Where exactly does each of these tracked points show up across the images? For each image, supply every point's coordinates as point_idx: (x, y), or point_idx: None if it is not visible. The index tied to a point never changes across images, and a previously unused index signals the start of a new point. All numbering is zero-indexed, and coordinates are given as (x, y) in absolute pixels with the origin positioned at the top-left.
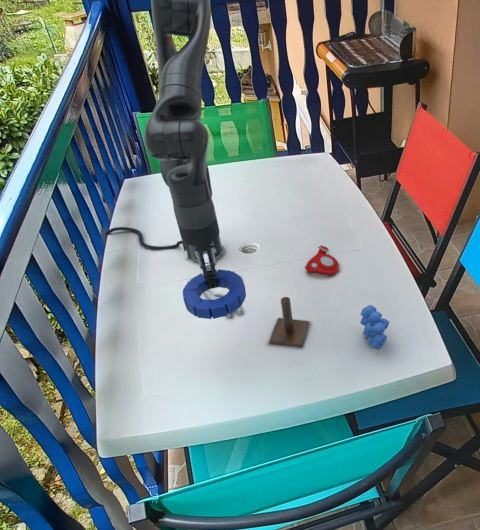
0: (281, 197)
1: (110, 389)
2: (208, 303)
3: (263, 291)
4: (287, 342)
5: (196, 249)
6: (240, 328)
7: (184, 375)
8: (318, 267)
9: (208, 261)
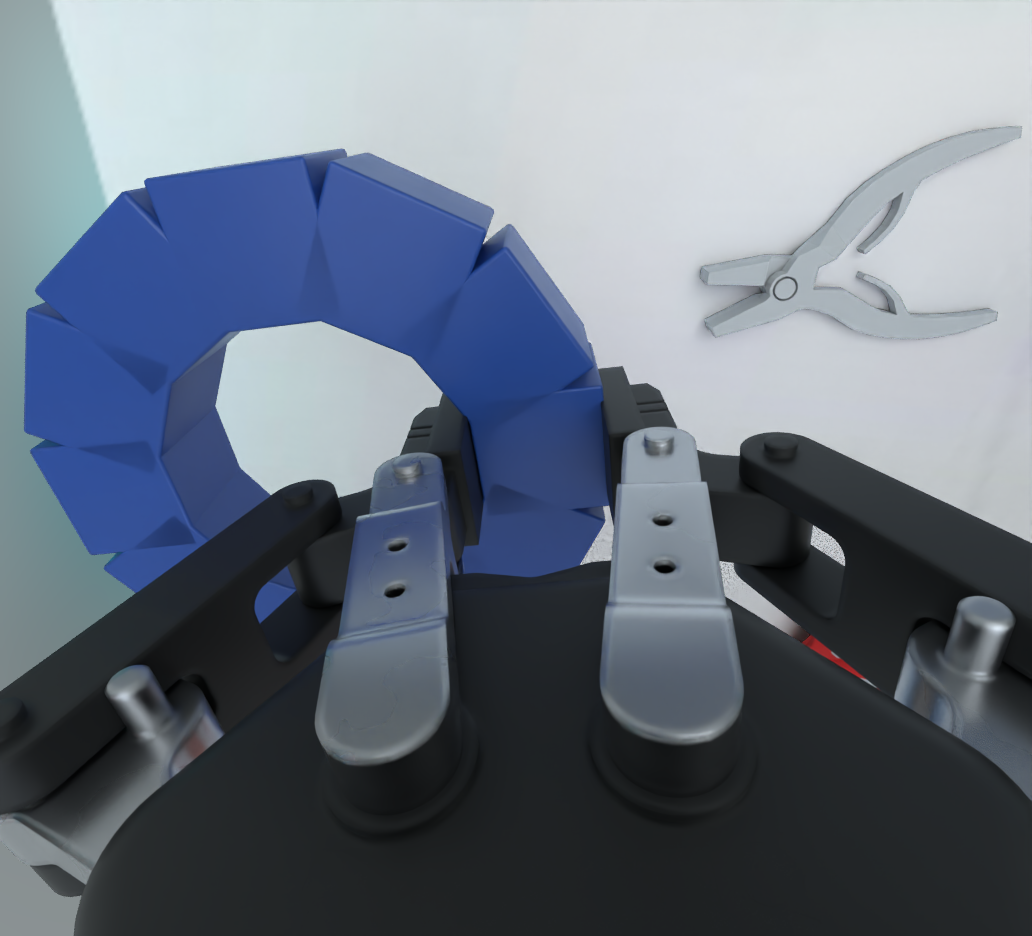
0: None
1: None
2: (107, 433)
3: (815, 430)
4: None
5: (358, 795)
6: (611, 317)
7: (364, 24)
8: (826, 657)
9: (61, 861)
